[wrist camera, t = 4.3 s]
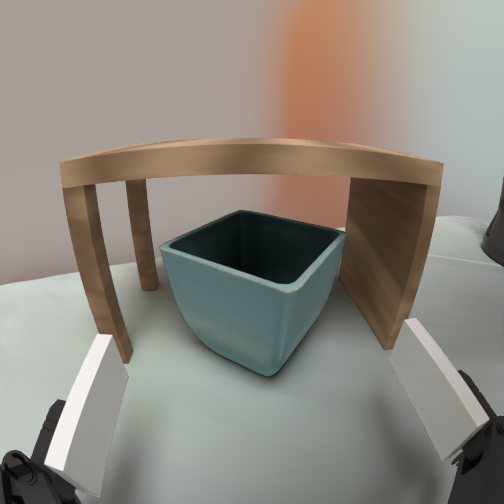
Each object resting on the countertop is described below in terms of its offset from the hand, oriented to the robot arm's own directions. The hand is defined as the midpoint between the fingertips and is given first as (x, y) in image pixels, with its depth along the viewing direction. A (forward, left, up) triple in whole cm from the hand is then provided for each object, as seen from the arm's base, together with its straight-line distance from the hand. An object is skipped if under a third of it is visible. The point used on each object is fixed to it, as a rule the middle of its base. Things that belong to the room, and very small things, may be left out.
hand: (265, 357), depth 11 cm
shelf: (0, -11, -6) cm, 13 cm away
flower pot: (0, -7, -7) cm, 10 cm away
